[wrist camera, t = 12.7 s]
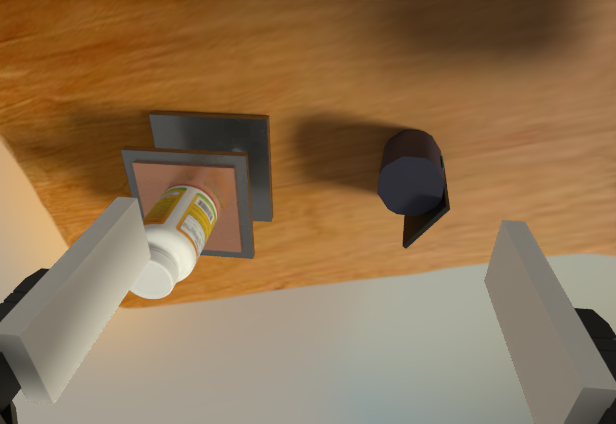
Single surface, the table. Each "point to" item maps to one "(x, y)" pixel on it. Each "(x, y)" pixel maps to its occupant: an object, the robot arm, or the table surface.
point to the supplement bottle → (174, 239)
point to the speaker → (414, 182)
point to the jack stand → (209, 171)
